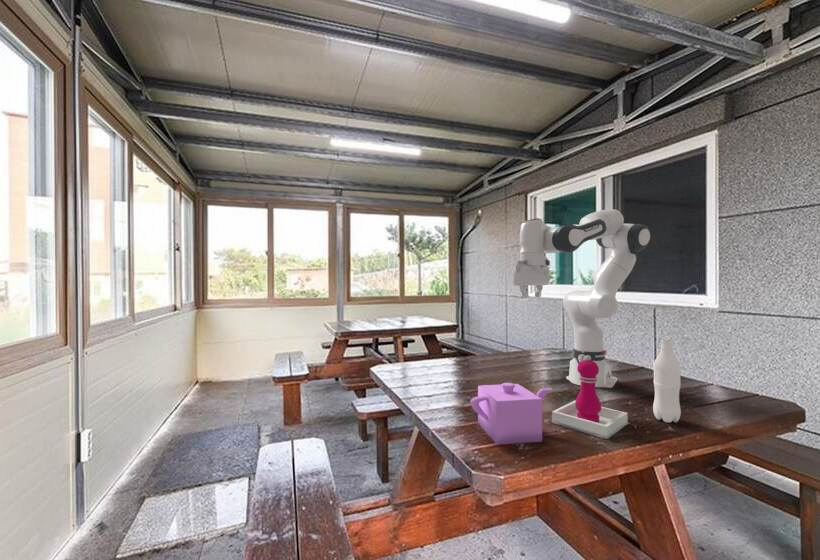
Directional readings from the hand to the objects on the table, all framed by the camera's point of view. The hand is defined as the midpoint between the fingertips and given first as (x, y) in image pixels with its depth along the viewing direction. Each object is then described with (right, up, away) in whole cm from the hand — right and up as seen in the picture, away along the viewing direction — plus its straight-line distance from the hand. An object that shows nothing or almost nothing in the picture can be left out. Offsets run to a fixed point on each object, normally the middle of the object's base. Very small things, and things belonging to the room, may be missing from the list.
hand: (531, 297), depth 144 cm
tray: (+9, -37, -29) cm, 48 cm away
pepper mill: (+8, -37, -28) cm, 47 cm away
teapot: (-17, -38, -34) cm, 54 cm away
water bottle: (+34, -38, -26) cm, 57 cm away
